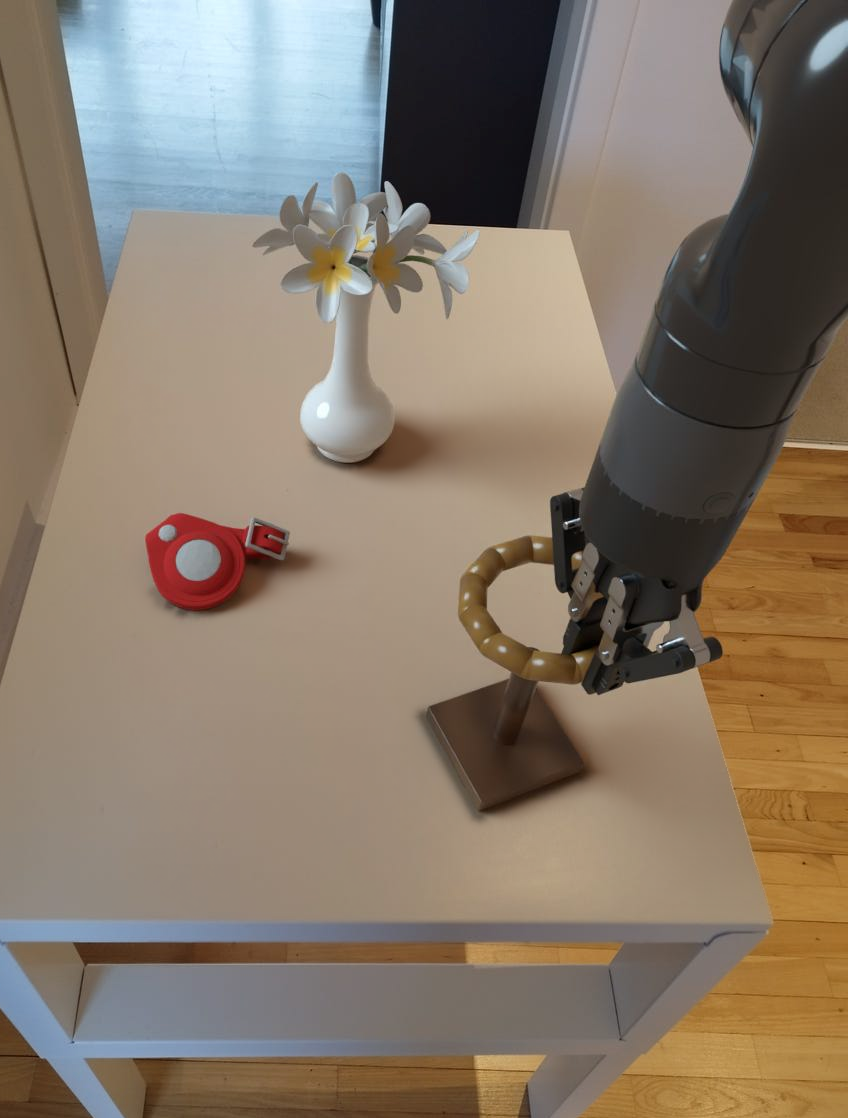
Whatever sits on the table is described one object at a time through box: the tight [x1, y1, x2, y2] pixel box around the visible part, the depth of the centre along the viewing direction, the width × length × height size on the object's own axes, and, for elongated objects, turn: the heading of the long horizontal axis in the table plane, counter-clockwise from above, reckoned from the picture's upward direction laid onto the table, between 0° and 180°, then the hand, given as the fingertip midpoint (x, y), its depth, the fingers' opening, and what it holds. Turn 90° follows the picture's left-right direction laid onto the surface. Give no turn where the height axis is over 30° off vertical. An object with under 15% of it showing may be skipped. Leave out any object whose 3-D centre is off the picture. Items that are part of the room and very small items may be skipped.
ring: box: [457, 534, 600, 686], centre depth 58 cm, size 12×12×2 cm
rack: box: [425, 646, 585, 812], centre depth 67 cm, size 9×9×12 cm
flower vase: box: [252, 171, 481, 464], centre depth 82 cm, size 13×18×25 cm
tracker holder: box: [144, 512, 291, 611], centre depth 80 cm, size 12×4×10 cm
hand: (587, 670), depth 56 cm, fingers closed on ring, 2 cm apart
